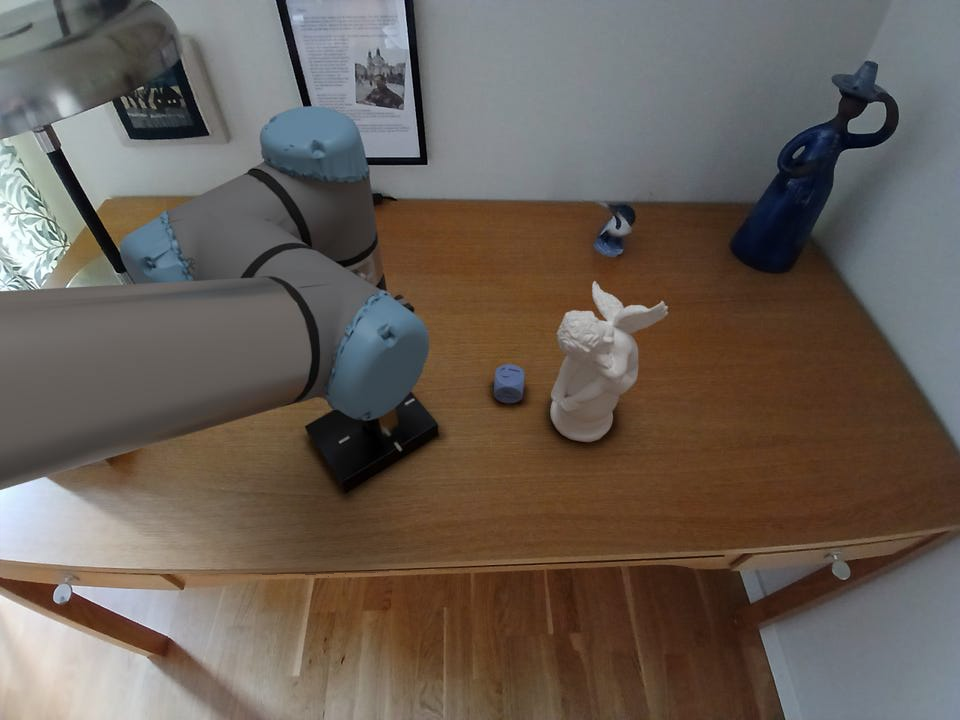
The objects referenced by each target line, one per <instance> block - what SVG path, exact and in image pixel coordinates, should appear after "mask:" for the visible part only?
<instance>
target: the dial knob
mask: <svg viewBox="0 0 960 720" xmlns="http://www.w3.org/2000/svg"><path fill="white" fill-rule="evenodd" d="M373 424H374V428H373V430H374V431H375V432H376V434H377V435H378V436H379V438H380V439H381V440H382V442H383V443H384V444H385V443H386V442H388V441H390V440H391V439H393V438H395V437H396V436H398V435H399V434H400V430H399V425H398V419H397V414H396V409H395V408H394V409H392V410H391V411H390V412H388V413H387V414H385V415H383V416H381V417H379V418H376V419H373Z"/></svg>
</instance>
